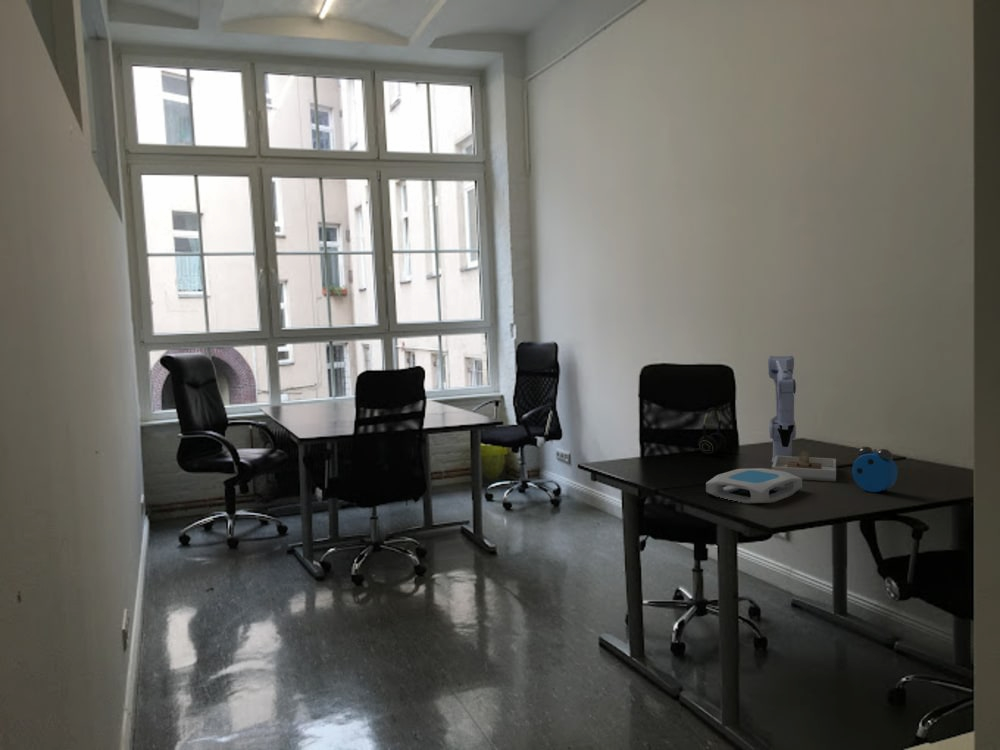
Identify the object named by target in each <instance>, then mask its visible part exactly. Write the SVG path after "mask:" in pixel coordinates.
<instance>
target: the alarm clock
mask: <svg viewBox="0 0 1000 750" xmlns="http://www.w3.org/2000/svg"><path fill="white" fill-rule="evenodd" d="M872 451H873V452H872ZM857 455H858V457H857V458H856V459H855V461H854V462H853V464H852V468H851V469H852V476H853V480H854V482H855V483H856V484H857V485H858V486H859V487H860V488H861V489H862V490H864V491H866V492H870V493H879V492H882V491H886V492H889V491H888V489H889V488H892V487H893V486H894V484H895V483H896V481H897V479H898V475H899V474H898V473H899V472H898V467H897V464H896V462H895V461H894V460H893V454H892V452H891V451H890V450H889V449H887V448H886V449H885V448H880V449H879V450H878V449H876V448H875V449H874V448H873V449H872V448H871V447H869V446H861V447H860V448H859V449H858V450H857Z"/></svg>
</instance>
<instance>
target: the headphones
mask: <svg viewBox="0 0 1000 750" xmlns="http://www.w3.org/2000/svg"><path fill="white" fill-rule="evenodd" d="M712 411H715V412H716V413H717V416H718V424H717V425H718V426H717V431H716V432H713V433H711V434H710V435H708V433H707V428H706V427H707V426H706V420H707V416H708V414H710V413H711V412H712ZM705 413H706V414H705V416H704V419H703V426H702V427H703V428H702V431H703V436H701V437H700V438H699V440H698V447H699V449H700V451H701V452H703V453H704V454H706V455H714V454H716V453H720V452H722V451H723V450H724V449H725V447H726V445H727V440H726V438H725V436H724V435H723V434H721V428H722V427H721V425H722V419H721V415H720V411H719V410H718V408H716V407H710V408H708V409H707V410H706V412H705Z"/></svg>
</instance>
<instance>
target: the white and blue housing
mask: <svg viewBox="0 0 1000 750" xmlns="http://www.w3.org/2000/svg"><path fill="white" fill-rule="evenodd" d="M802 488H803V479H802V478H800V477H797V476H795V475H792V474H790V473H788V472H784V471H778V470H772V468H759V467H757V468H756V467H755V468H737V469H733V470H730V471H726V472H723V473H719V474H717V475H715V476H713V478H711V479H710V480H708V481H706V483H705V491H706V493H708V494H710V495H712V496H714V497H716V498H718V497H720V498H719V499H721V498H724V499H728V500H727V501H729V500H733V501H732V502H734V501H738V502H737V503H740V502H742V503H741V504H771V503H776V502H778V501H780V500H783V499H785V498H788V497H790V496H793V495H795V494H796V493H797V492H798V491H799V490H801V489H802ZM740 490H747V491H749V493H750V497H749V496H747V495H740V494H736V493H734V492H737V491H740ZM771 490H772V491H774V492H773V493H770V491H771ZM733 491H734V492H733ZM730 492H731V493H730ZM724 499H723V500H724Z"/></svg>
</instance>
